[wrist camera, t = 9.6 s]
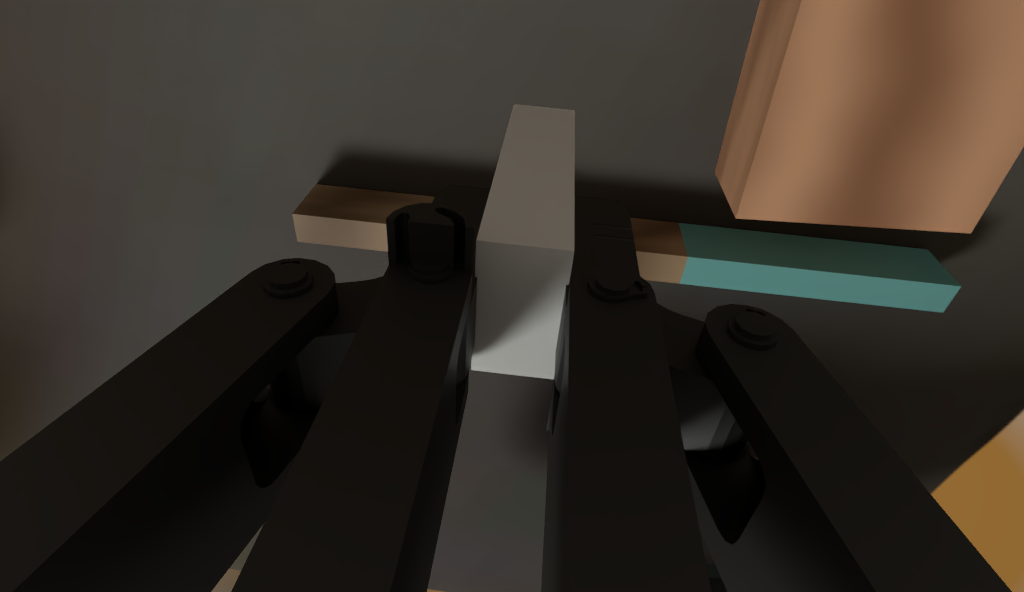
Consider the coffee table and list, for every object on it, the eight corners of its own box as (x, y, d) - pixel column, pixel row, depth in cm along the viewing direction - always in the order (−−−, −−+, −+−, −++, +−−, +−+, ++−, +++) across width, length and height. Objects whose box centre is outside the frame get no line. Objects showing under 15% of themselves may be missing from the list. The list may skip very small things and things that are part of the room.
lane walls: (826, -288, 17) (867, -313, 14) (671, 248, 28) (679, 283, 26) (233, -334, 17) (178, -366, 15) (320, 210, 29) (297, 241, 27)
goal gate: (1243, -255, 16) (1356, -274, 14) (912, 274, 28) (943, 312, 26) (826, -288, 17) (867, -313, 14) (671, 248, 28) (679, 283, 26)
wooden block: (1032, -51, 20) (1131, -32, 16) (916, 181, 25) (970, 233, 22) (773, -60, 20) (814, -44, 17) (713, 170, 26) (735, 218, 22)
